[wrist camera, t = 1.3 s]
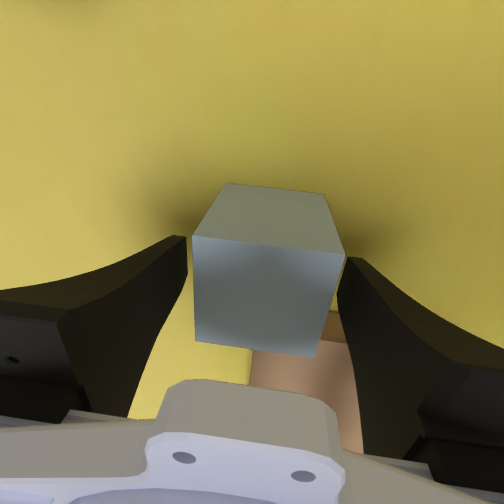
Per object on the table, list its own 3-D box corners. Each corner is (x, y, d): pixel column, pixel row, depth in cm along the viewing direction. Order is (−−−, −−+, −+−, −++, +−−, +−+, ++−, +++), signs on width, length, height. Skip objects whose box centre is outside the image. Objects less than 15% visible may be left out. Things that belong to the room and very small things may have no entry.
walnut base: (450, 327, 17) (474, 361, 15) (387, 429, 23) (397, 463, 21) (259, 302, 18) (256, 331, 16) (246, 408, 24) (242, 439, 22)
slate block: (324, 194, 14) (345, 255, 9) (305, 274, 17) (314, 358, 11) (226, 182, 14) (191, 235, 9) (222, 263, 17) (195, 340, 12)
